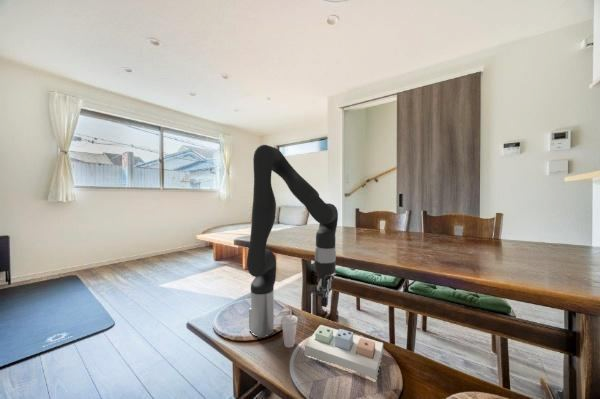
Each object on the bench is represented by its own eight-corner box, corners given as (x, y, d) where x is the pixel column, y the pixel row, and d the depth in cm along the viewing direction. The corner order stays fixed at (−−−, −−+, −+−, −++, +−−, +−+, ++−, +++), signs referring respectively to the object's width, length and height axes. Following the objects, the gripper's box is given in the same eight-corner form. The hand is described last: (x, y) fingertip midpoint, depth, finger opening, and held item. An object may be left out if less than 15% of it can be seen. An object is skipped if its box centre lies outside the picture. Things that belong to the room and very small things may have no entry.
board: (304, 356, 81) (304, 345, 81) (320, 334, 93) (320, 324, 93) (376, 382, 70) (376, 369, 70) (383, 354, 82) (383, 342, 82)
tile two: (315, 348, 84) (315, 332, 84) (320, 340, 88) (320, 325, 88) (328, 353, 82) (328, 336, 82) (333, 345, 86) (333, 329, 86)
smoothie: (295, 351, 84) (295, 313, 83) (278, 348, 85) (278, 311, 84) (299, 340, 90) (299, 304, 89) (283, 337, 91) (283, 302, 91)
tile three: (335, 352, 81) (335, 335, 80) (339, 344, 85) (339, 328, 85) (349, 357, 78) (349, 339, 78) (353, 348, 83) (353, 331, 82)
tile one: (356, 363, 77) (356, 345, 77) (360, 353, 82) (360, 337, 81) (372, 368, 75) (372, 350, 75) (374, 358, 79) (375, 341, 79)
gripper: (322, 253, 91) (321, 296, 92) (307, 262, 80) (306, 311, 81) (340, 255, 88) (339, 300, 89) (328, 265, 76) (327, 317, 77)
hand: (324, 305), depth 85 cm, fingers closed
